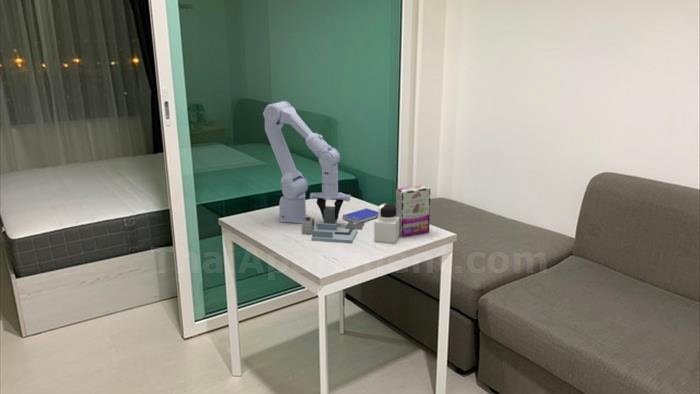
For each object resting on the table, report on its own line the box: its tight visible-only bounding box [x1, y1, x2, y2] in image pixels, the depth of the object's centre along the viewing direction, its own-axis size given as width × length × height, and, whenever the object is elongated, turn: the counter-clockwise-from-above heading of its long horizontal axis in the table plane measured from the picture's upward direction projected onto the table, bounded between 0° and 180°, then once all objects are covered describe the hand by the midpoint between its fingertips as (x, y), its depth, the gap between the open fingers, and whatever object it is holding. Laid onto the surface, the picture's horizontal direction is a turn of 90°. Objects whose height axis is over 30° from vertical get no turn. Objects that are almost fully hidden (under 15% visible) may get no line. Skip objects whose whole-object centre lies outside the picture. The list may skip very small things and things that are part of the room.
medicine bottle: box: [373, 203, 400, 244], centre depth 179 cm, size 7×7×12 cm
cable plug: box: [301, 216, 316, 236], centre depth 186 cm, size 4×4×6 cm
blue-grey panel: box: [310, 222, 358, 244], centre depth 184 cm, size 14×12×3 cm
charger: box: [323, 205, 338, 224], centre depth 193 cm, size 4×4×6 cm
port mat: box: [344, 221, 365, 231], centre depth 193 cm, size 6×6×1 cm
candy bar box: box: [395, 184, 431, 238], centre depth 183 cm, size 11×5×16 cm, turn 114°
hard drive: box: [342, 208, 378, 223], centre depth 201 cm, size 2×8×12 cm
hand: (330, 218), depth 194 cm, fingers closed on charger, 4 cm apart
